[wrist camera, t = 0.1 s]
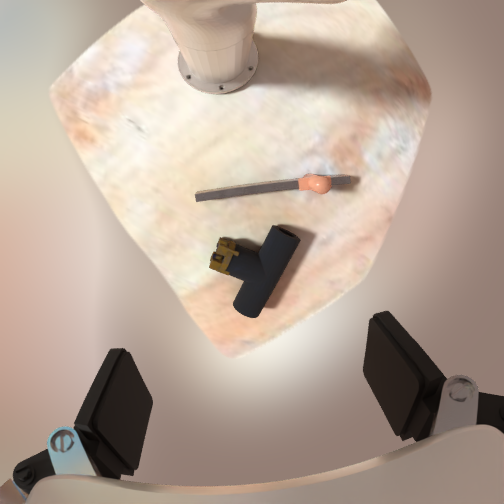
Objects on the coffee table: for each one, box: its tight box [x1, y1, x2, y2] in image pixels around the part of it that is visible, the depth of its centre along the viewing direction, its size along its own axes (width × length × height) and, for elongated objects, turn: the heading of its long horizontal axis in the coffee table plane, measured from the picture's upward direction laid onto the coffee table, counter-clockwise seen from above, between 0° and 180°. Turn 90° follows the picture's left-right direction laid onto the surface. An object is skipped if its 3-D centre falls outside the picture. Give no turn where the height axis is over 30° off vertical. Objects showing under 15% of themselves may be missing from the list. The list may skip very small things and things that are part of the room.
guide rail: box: [195, 174, 351, 202], centre depth 41 cm, size 2×24×7 cm, turn 97°
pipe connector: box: [209, 225, 300, 318], centre depth 46 cm, size 12×5×15 cm
